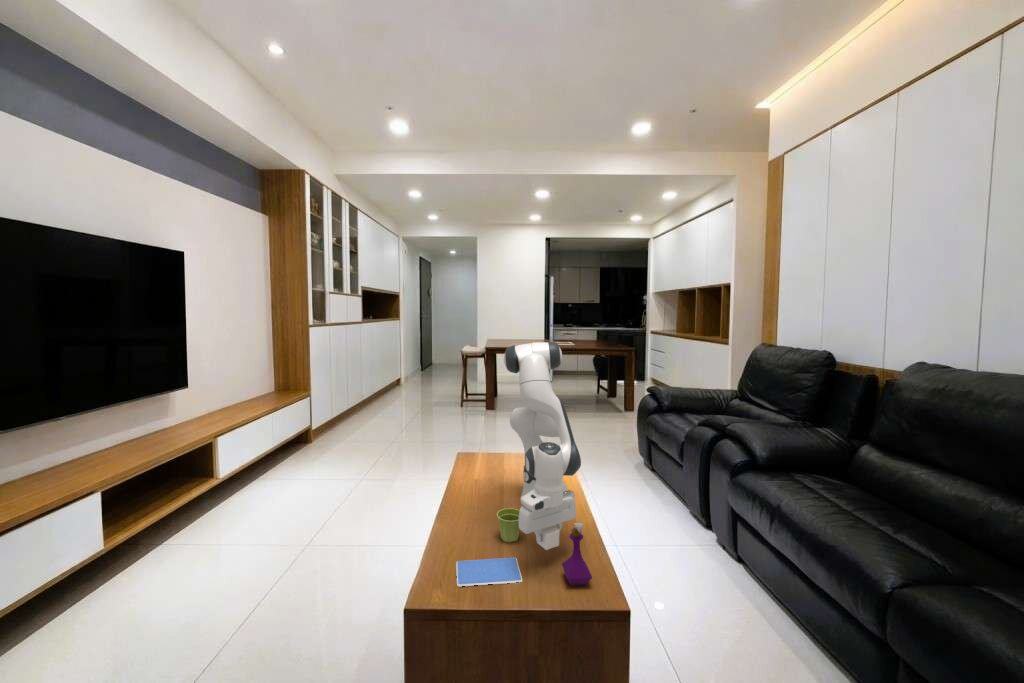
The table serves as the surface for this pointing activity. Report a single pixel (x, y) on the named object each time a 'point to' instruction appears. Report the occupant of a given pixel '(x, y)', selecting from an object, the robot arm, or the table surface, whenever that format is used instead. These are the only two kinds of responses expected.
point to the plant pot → (509, 524)
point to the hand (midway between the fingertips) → (547, 538)
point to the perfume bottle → (576, 560)
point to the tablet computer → (487, 572)
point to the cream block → (549, 537)
